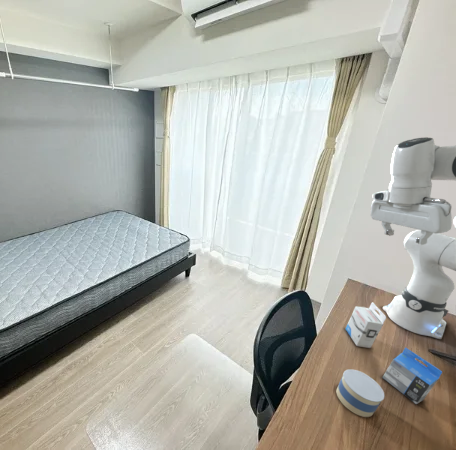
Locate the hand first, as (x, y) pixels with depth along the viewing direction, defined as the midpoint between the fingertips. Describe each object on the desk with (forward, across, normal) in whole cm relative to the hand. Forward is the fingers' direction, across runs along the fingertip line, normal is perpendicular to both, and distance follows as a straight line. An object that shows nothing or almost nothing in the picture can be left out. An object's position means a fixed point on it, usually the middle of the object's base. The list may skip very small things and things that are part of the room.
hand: (404, 239), depth 76 cm
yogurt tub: (+41, -14, +27) cm, 51 cm away
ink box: (+42, +8, +6) cm, 43 cm away
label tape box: (+44, -11, +9) cm, 47 cm away
